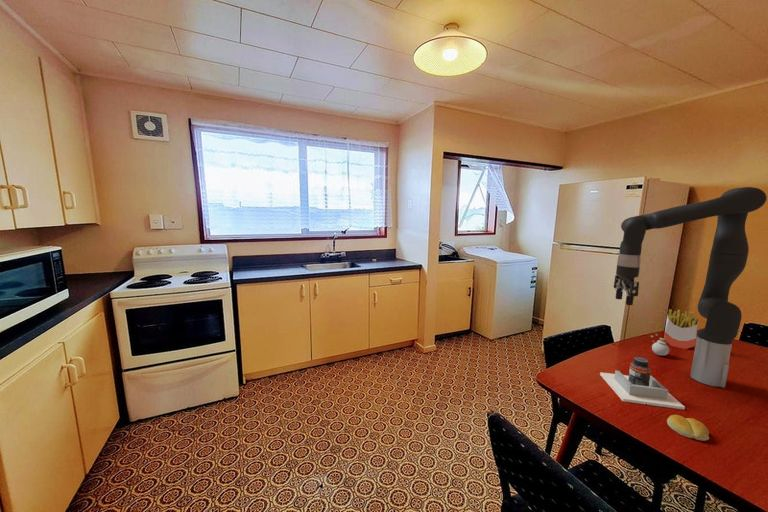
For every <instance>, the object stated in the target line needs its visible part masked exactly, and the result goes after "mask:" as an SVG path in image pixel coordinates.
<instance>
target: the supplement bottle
mask: <svg viewBox="0 0 768 512" xmlns="http://www.w3.org/2000/svg"><path fill="white" fill-rule="evenodd" d="M628 372H629V373H628V376H629V379H628V381H629V382H630V383H631V384H634V385H642V386H649V382H650V375H651V373H652V368H651V367H650V366H649V361H648V359H646V358H645V357H639V356H636V357H634V358H633V361H632V362H630V365H629V371H628Z"/></svg>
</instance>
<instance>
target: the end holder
mask: <svg viewBox="0 0 768 512" xmlns="http://www.w3.org/2000/svg"><path fill="white" fill-rule="evenodd" d="M599 375H600V376H601V378H602V379H603V380H604V381H605V382H606V383H607V385H608V386H609V387H610V388H611V389H612V390H613V391H614V393H615V394H616V395H617V397H619V399H620V400H621V401H622V402H625V403H632V404H638V405H639V404H641V405H646V404H647V406H655V407H662V408H668V409H677V410H684V411H685V408H686V406H685V405H683V404H682V403H681V402H680V401H678V399H676V398H675V397H674V396H673V395H672V393H671V394H670V393H669V389H667V388H666V387H665V386H664V385H663V384H662V383H660V382H659V381H658V380H657V379H656V378H655V377H654V376H652V375H651V374H650V382H649V386H642V385H634V384H631V383H630V382H629V381H628V379H629V375H626V374H623V373H621V371H620V370H616V369H615V370H614V373H609V372H602V371H601V372H600V373H599Z"/></svg>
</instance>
